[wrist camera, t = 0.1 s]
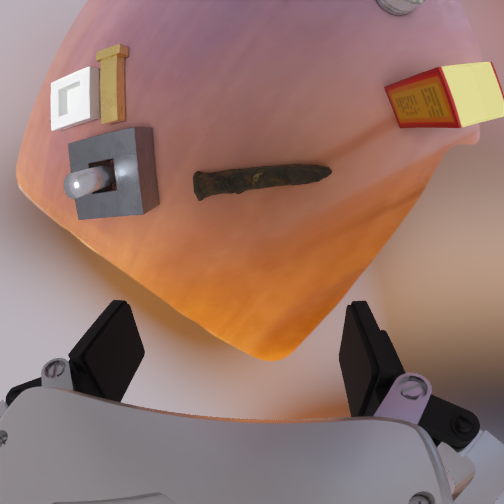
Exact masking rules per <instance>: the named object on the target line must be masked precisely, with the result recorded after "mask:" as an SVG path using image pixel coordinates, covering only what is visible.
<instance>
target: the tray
mask: <svg viewBox="0 0 504 504" xmlns="http://www.w3.org/2000/svg"><path fill="white" fill-rule="evenodd" d="M99 118H100V69H98V68H95V67H91V66H89V67H86V68H84V69H81V70H79V71H77V72H74V73H72V74H70V75H67V76H65V77H63V78H61V79H59V80H57V81H54V82H52V83H51V130H52V131H58V130H64V129H67V128H70V127H73V126H76V125H79V124H82V123H85V122H89V121H92V120H95V119H99Z"/></svg>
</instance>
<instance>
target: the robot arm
mask: <svg viewBox="0 0 504 504" xmlns="http://www.w3.org/2000/svg"><path fill="white" fill-rule="evenodd" d="M144 353H145V351H144V347H143V344H142V341H141V338H140V336H139V332H138V329H137V326H136V323H135V320H134V317H133V313H132V310H131V307H130V305H129V304H127V302H126V301H122V300H113V301H112V302H111V303H110V305H109V306H108V307H107V308H106V309H105V310H104V311H103V313H102V314H101V315H100V316H99V317H98V319H97V320H96V321H95V322H94V323H93V325H92V326H91V327H90V328H89V329H88V331H87V332H86V333H85V334H84V335H83V337H82V338H81V339H80V340H79V342H78V343H77V344H76V345H75V347H74V348H73V349H72V350H71V352H70V353H69V355H68V356H69V358H70V360H69V362H68V361H67V360H66V359H63V358H56V359H53V360H50V361H49V362H47V363H46V364H45V366H44V367H43V369H42V372H41V377H40V378H37V379H35V380H32V381H29V382H26V383H24V384H21V385H18V386H16V387H13V388H12V389H11V390H10V391H9V392H8V394H7V396H6V402H4V401H3V400H2V401H1V402H0V504H494V503H495V501H496V500H497V499H498V497H499V496H500V494H501V493H502V492H503V490H504V445H503V444H502V443H501V442H500V441H499V440H497V439H496V438H495V437H494V436H492V435H491V434H490V433H489V432H488V431H486V430H485V431H484V432H482V431H481V430H480V424H479V420H478V418H477V417H476V416H475V415H474V414H473V413H472V412H470V411H468V410H466V409H463V408H461V407H459V406H456V405H454V404H452V403H450V402H447V401H445V400H442V399H440V398H438V397H436V396H434V395H431V391H432V388H431V384H430V383H429V381H428V380H427V379H426V378H425V377H424V376H422V375H420V374H416V373H405V371H404V369H403V366H402V364H401V362H400V360H399V358H398V355H397V353H396V351H395V349H394V347H393V345H392V343H391V340H390V338H389V336H388V334H387V332H386V331H384V330H380V329H379V327H378V325H377V323H376V320H375V318H374V316H373V314H372V312H371V310H370V308H369V306H368V304H367V302H366V301H353V302H352V303H351V305H348V306H347V309H346V316H345V323H344V329H343V335H342V341H341V346H340V352H339V362H340V367H341V370H342V375H343V380H344V384H345V388H346V393H347V398H348V403H349V408H350V412H351V417H339V418H324V419H296V420H257V419H234V418H220V417H208V416H198V415H190V414H182V413H174V412H167V411H161V410H156V409H150V408H144V407H139V406H134V405H129V404H124V403H120V402H121V400H122V398H123V396H124V394H125V392H126V390H127V388H128V386H129V384H130V382H131V380H132V378H133V376H134V374H135V372H136V371H137V369H138V367H139V365H140V363H141V361H142V359H143V357H144ZM444 467H445V468H446V469H447V470H448V472H447V474H448V475H449V476H450V477H451V478H452V479H453V480H454V483H455V489H454V492H453V494H452V493H451V489H450V486H449V482H448V478H447V475H446V471H445V468H444ZM410 498H411V499H410Z"/></svg>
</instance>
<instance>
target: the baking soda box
mask: <svg viewBox="0 0 504 504" xmlns="http://www.w3.org/2000/svg"><path fill="white" fill-rule="evenodd" d="M384 88H385V91H386V93H387V96H388V98H389V100H390V103H391V106H392V108H393V111H394V113H395V116H396V119H397V122H398V125H399V127H400V128H416V127H440V128H461V127H465V126H469V125H472V124H476V123H480V122H484V121H488V120H491V119H495V118H499V117H504V95H503V92H502V89H501V86H500V83H499V80H498V77H497V74H496V71H495V69H494V66H493V64H492V62H481V63H469V64H459V65H451V66H443V67H437V68H434V69H431V70H429V71H426V72H423V73H420V74H417V75H415V76H412V77H409V78H407V79H404V80H401V81H399V82H396V83H394V84H391V85H389V86H386V87H384Z"/></svg>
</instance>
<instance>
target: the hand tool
mask: <svg viewBox="0 0 504 504" xmlns="http://www.w3.org/2000/svg"><path fill="white" fill-rule="evenodd" d="M331 173H332V170H330V168H329V167H325V166H318V165H302V164H292V165H282V166H267V167H256V168H249V169H233V170H227V171H221V172H214V173H207V174H204V173H201V172H199V171H198V172H196V173H195V174H194V176H193V183H194V193H195V194H196V196H197V198H198V200H199V201H201V200H203V199H204V198H206V197H208V196H210V195H216V194H223V193H237V194H240V193H242V192H244V191H246V190H251V189H260V188H266V187H273V186H283V185H300V184H308V183H312V182H317V181H320V180H321V179H323V178H326V177H327V176H328V175H330V174H331Z"/></svg>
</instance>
